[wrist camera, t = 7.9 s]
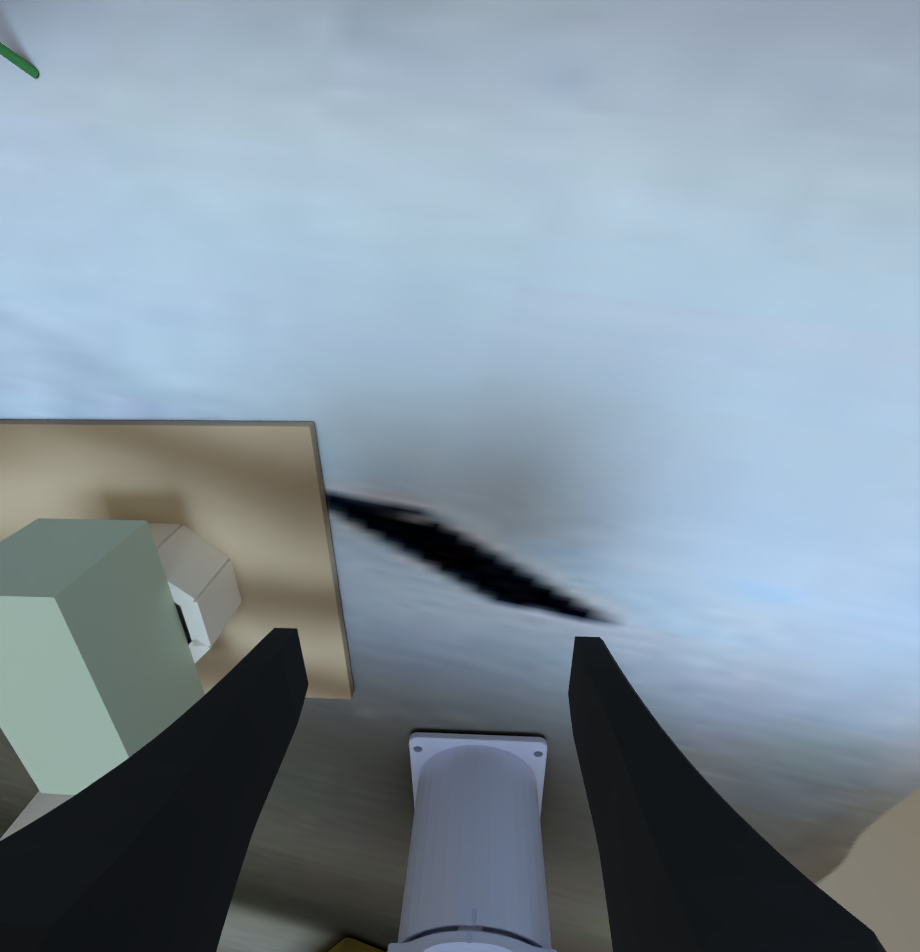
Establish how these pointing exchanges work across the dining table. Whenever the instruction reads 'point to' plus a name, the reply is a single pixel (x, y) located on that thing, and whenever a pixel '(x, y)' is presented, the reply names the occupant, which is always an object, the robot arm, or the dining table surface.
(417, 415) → the dining table surface
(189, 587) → the white octagonal prism
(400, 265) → the dining table surface
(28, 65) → the lily
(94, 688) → the green rectangular block
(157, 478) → the mat
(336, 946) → the flower pot
